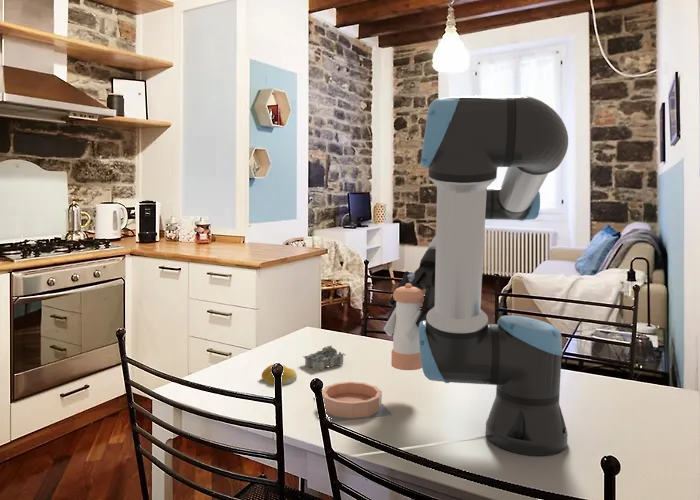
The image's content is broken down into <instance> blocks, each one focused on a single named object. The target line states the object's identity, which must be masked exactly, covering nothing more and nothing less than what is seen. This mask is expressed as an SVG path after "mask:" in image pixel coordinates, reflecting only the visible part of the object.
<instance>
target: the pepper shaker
mask: <svg viewBox="0 0 700 500" xmlns="http://www.w3.org/2000/svg"><path fill="white" fill-rule="evenodd" d="M392 295H393V298H394V300H395V301H397V302H396V322H395V328H394V332H393V334H392V337H393V338H392V341H393V343H392V345H393V346H392V347H393V348H392V350H391V360H390V361H391V363H390V364H391V367H393V369H397V370H401V371H417V370H421V369H422V364H421V357H420V344H419V330H418V332H417V334H416V336H415V338H414V340H413V341H410V340H409V338H408V337H407V336H406V334H405V333H406V331H407V329H408V327H409V325H410V324H411V322H412V320H413V318H414V316H415V314H416V312H417V311H418V310H420V311H421V308H420V307H421V302H423V301H424V297H425V294H424V292H423V290H421V289H419V288H417V287H412V284H410V283H407V284H406V285H405V286H404V287H399V288H397V287H396V288H395V290H394V291H393V293H392Z"/></svg>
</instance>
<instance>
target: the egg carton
mask: <svg viewBox="0 0 700 500" xmlns="http://www.w3.org/2000/svg"><path fill="white" fill-rule="evenodd" d="M344 356H346V354H345V353H343V352H341V351H339V352H338V350H337V349H336V348H334V347H333V345H332V344H331V345H328V346H325V347H323V348H322V349H321V350H317V352H314V353H310V354H308V355H305V356H302V357H303V358H304V359H305V360H304V361H305V363H304V364H305V365H304V366H305V367H306V368H307V367H308V368H309V367H312V370H314V371H315V370H316V369H317V370H318V369H320V370H319V371H322V369H323V370H325V368H327V367H326V366H329V367H328V368H333V367H334V366H335V365H334V364H336V365H338V364H342V365H344ZM332 366H333V367H332Z"/></svg>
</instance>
